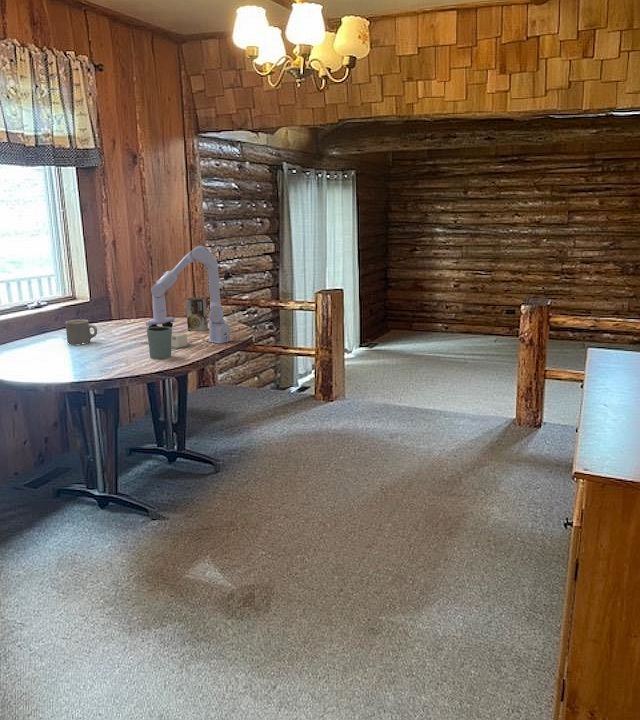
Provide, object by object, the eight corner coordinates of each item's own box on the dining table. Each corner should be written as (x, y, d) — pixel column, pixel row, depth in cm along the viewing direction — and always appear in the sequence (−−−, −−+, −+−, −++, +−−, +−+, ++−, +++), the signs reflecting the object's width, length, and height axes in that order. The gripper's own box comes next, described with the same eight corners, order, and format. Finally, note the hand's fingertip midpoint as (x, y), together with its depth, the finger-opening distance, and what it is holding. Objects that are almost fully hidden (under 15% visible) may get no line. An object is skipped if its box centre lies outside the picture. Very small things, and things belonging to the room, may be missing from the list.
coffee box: (208, 328, 326) (206, 297, 322) (204, 331, 319) (203, 299, 316) (191, 328, 326) (189, 297, 323) (187, 331, 320) (185, 299, 317)
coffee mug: (63, 345, 290) (61, 323, 288) (73, 340, 299) (71, 319, 297) (92, 345, 289) (90, 323, 287) (101, 340, 299) (99, 319, 296)
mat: (193, 345, 286) (193, 344, 286) (174, 349, 277) (174, 348, 277) (160, 339, 300) (160, 338, 300) (141, 343, 292) (140, 342, 292)
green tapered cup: (152, 354, 269) (150, 326, 266) (176, 354, 268) (174, 326, 266) (145, 359, 259) (143, 330, 256) (170, 359, 259) (168, 330, 256)
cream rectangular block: (187, 345, 284) (186, 334, 283) (178, 347, 280) (177, 336, 279) (173, 342, 290) (172, 331, 289) (164, 344, 286) (163, 333, 285)
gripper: (166, 307, 296) (168, 336, 299) (140, 311, 285) (143, 341, 288) (176, 308, 291) (178, 337, 294) (150, 312, 280) (152, 343, 283)
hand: (161, 339), depth 291 cm, fingers closed on stub, 5 cm apart
